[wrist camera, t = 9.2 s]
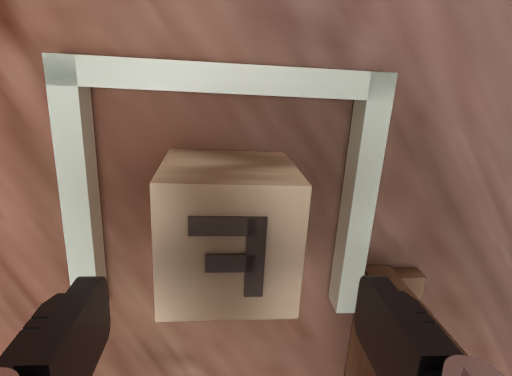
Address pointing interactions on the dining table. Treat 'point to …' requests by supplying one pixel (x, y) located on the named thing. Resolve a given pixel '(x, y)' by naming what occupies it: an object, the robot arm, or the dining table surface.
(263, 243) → the letter cube
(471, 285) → the dining table surface
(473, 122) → the dining table surface
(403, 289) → the screen
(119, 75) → the bay
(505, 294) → the dining table surface
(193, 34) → the dining table surface
